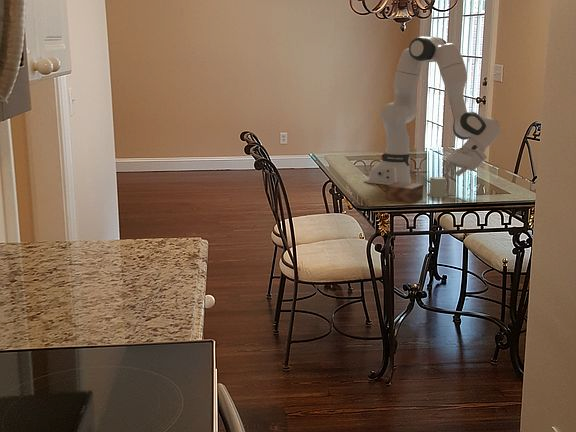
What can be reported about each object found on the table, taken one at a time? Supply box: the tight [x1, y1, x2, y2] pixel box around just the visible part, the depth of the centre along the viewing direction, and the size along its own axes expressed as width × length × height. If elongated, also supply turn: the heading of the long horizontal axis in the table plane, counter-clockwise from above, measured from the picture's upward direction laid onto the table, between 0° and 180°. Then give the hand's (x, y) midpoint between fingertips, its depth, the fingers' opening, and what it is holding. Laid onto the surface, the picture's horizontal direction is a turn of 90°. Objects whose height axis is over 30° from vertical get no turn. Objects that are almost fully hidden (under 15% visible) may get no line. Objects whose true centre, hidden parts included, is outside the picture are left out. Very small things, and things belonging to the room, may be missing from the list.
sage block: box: [426, 176, 449, 199], centre depth 309 cm, size 6×6×8 cm
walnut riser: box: [385, 182, 424, 203], centre depth 303 cm, size 12×12×6 cm
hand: (451, 173), depth 309 cm, fingers open, 8 cm apart
